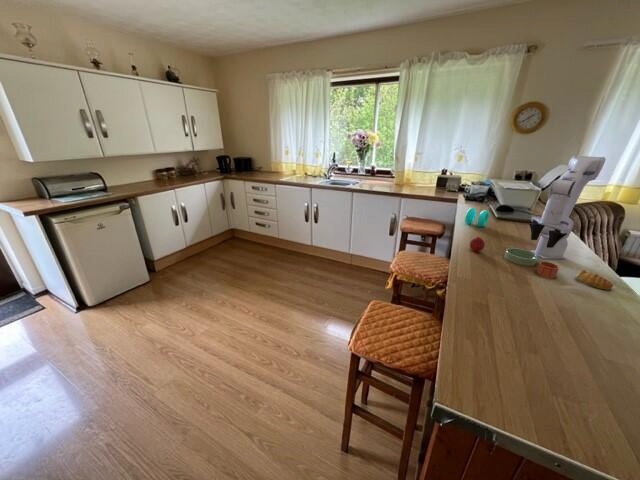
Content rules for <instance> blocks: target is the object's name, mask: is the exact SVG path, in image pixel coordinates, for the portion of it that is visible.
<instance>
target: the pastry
mask: <svg viewBox="0 0 640 480" xmlns="http://www.w3.org/2000/svg"><path fill="white" fill-rule="evenodd" d="M574 278H575V280H577V281H578V282H579V283H582V284H585V285H588V286H590V287H593V288H595V289H600V290H606V291H608V290H612V289H613V287H614V284H613V283H612V282H611V281H610V280H608V279H606V278H604V277H603V276H601V275H599V274H597V273H594V272H592V271H587V270H585V269H581V270H579V272H578V273H577V275H576V276H575V277H574Z"/></svg>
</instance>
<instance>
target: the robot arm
mask: <svg viewBox="0 0 640 480" xmlns="http://www.w3.org/2000/svg"><path fill="white" fill-rule="evenodd" d="M605 163H606V157H605V156H588V155H587V156H586V155H576V154H574V155H573V156H571V158H570V159H569V161H568V165H567V170H566V171H565V172H564V173H563V174H562V175H561V176H560V177H559V178H558V179H556V180H553V181H552V183H551V184H550V187H549V191H548V195H547V202H546V204H545V208H544V210H543V213H542V215H541V217H539V216H532V217H531V219H530V221H531V222H529V224H528V225H529V228H530V240H531V241H538V243H537V245H536V248H535V249H532V250H531V249H530V250H529V251H530V252H532V253H534V254H536V255H537V256H538V257H540V258H542V259H565V257H564V254H565V252H566V250H567V247H568V244H569V243H568V240H567V239H568V238H569V237H570V235H571V233H572V230H573V228H574V225H575V223H574V220H572V218H570V215H571V213H572V211H573V209H574V208H575V205H576V204H577V202H578V199H579V198H580V196H581V194H582V192H583V190H584V188H585V186H587V184H588V183H589V182H591V181H595V180H597V178H598V177H599V176H600V173H601V172H602V169H603V167H604V165H605ZM539 237H540V238H539ZM538 239H539V240H538Z"/></svg>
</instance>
